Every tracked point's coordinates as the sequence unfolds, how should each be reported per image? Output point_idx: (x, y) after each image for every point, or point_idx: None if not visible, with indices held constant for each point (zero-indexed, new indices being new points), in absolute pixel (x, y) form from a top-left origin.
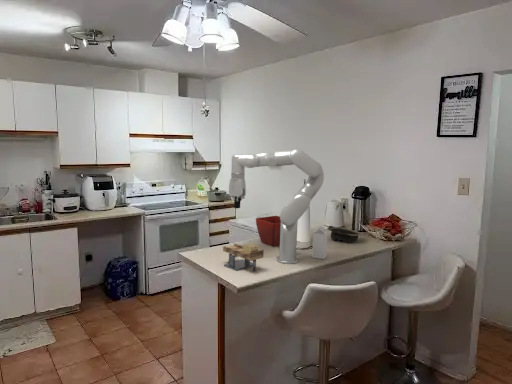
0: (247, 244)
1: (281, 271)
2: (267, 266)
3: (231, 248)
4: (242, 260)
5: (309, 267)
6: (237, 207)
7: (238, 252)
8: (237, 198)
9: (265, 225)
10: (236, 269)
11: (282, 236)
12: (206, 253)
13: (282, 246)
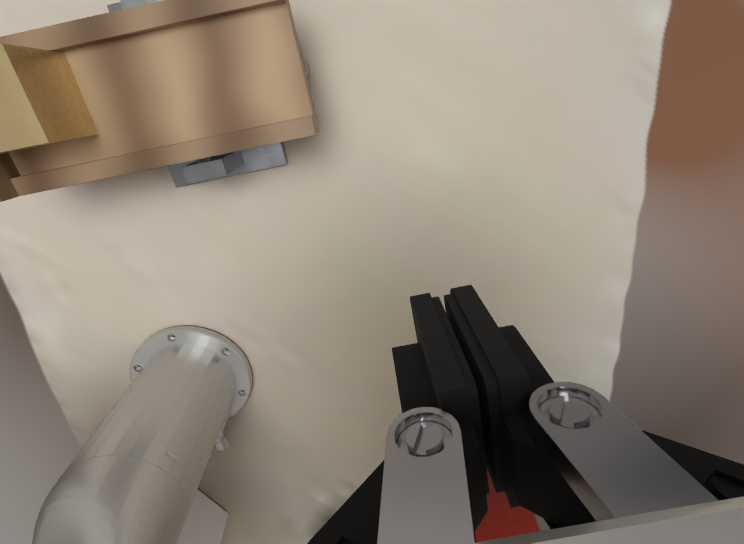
0: (3, 92)
1: (33, 252)
2: (139, 234)
3: (189, 16)
4: (264, 147)
5: (59, 399)
6: (418, 336)
7: (78, 22)
8: (412, 505)
9: (515, 521)
10: (108, 5)
11: (109, 446)
12: (561, 19)
13: (140, 395)
